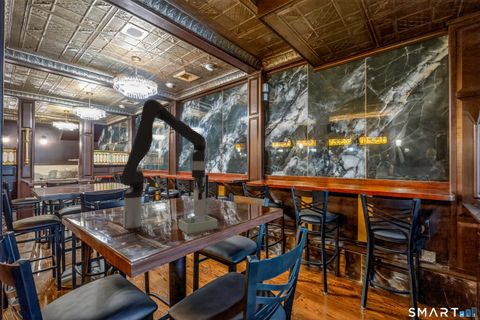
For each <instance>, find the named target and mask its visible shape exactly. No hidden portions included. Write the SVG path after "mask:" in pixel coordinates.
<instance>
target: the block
mask: <svg viewBox="0 0 480 320" xmlns="http://www.w3.org/2000/svg"><path fill="white" fill-rule="evenodd" d="M190 218H191V224H192V223H198V222H205V217H204V216H201V215H198V216H195V215H191V216H190Z"/></svg>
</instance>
